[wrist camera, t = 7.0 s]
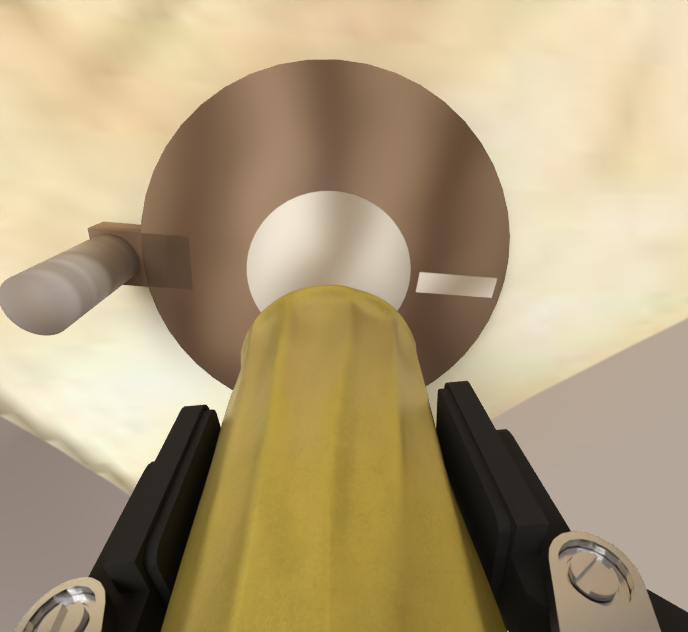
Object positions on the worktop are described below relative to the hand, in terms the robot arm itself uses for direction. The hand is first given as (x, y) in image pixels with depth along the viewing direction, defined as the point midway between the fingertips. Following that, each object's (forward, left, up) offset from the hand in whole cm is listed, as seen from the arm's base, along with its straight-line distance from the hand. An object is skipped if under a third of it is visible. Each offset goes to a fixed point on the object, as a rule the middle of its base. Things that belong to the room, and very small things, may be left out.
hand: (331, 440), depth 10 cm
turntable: (+1, 0, -14) cm, 14 cm away
